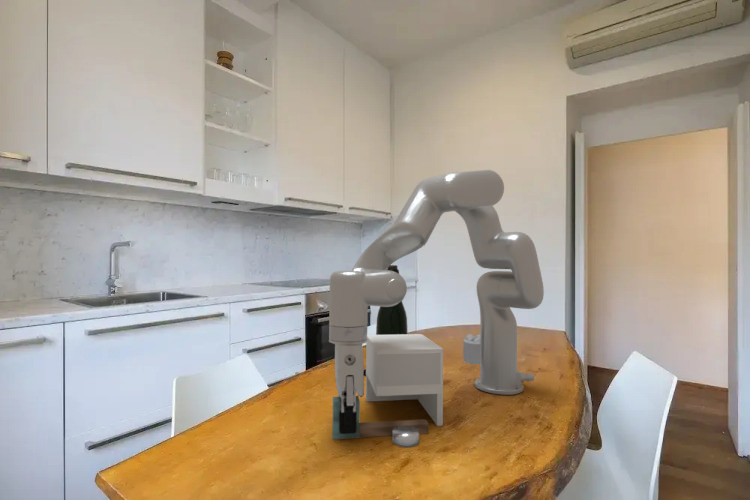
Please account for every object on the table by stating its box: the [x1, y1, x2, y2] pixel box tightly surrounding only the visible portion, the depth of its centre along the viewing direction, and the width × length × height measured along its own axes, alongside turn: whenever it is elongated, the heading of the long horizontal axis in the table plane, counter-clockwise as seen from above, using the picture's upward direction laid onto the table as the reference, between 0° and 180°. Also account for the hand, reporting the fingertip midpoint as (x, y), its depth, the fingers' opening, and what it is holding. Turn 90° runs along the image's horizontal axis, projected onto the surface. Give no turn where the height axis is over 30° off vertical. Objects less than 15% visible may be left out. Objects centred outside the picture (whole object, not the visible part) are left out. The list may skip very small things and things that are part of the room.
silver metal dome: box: [391, 426, 420, 448], centre depth 73 cm, size 5×5×2 cm
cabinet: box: [365, 333, 444, 427], centre depth 88 cm, size 14×17×16 cm
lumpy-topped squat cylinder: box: [462, 333, 480, 365], centre depth 135 cm, size 10×13×9 cm
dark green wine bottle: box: [375, 264, 409, 335], centre depth 126 cm, size 10×10×33 cm
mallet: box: [331, 395, 430, 440], centre depth 77 cm, size 19×3×7 cm, turn 98°
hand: (347, 427), depth 76 cm, fingers closed on mallet, 2 cm apart
